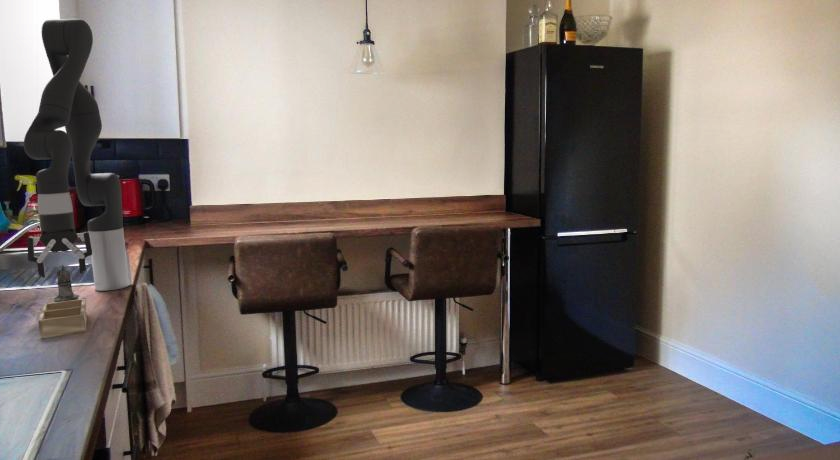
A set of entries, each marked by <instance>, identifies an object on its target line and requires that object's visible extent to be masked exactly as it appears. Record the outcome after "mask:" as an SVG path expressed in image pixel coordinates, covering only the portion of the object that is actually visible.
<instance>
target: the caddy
mask: <svg viewBox="0 0 840 460" xmlns="http://www.w3.org/2000/svg"><path fill="white" fill-rule="evenodd" d="M87 311H88V310H87V303H86V298H80V299H79V298H78V300H70V301H62V302H55V301H53V302H47V303H44V304H43V306H42V308H41V312H40V315H39V318H38V329H39V337H40V339H48V338H52V337H60V336H68V335H72V334H73V335H74V333H75V334H81V333H86V331H87V318H88V312H87Z"/></svg>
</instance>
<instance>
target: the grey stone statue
mask: <svg viewBox="0 0 840 460" xmlns="http://www.w3.org/2000/svg"><path fill="white" fill-rule="evenodd" d="M70 273H71V272H70V270H69V269H68V268H65V266H64V265H63V264H62V265H61V266H60V269H58V270H57V271H56V277H57V278H56V279H57V283H56V286H57V289H58V295H57V296H56V297H54V298H52V299H53V302H62V301H70V300H78V299H79V297H80V295H79V294H75V293H74V291H73V289H72V288H73V287H72V283H73V281H71V274H70Z"/></svg>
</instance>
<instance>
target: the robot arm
mask: <svg viewBox="0 0 840 460" xmlns="http://www.w3.org/2000/svg"><path fill="white" fill-rule="evenodd" d="M41 39H42V45H43V47H44V50H45V54H46V57H47V60H48V63H49V65H50V66H49V67H50V69H51V73H52V77H51V78H50V79H49V81H48V82H47V83H46V84H45V87H44V88H43V90H42V93H41V96H40V97H41V98H40V102H39V106H38V113H37V115H36V116H35V118H34V119H33V120H32V123H31V124H30V126H29V128H28V129H27V132H26V133H25V136H24V137H23V138H24V139H23V150H24V152H25V153H26V155H27V156H28V157H29V158H30V159H32V160H35V161H36V160H37V161H38V160H39V161H41V160H51V162H50V166H49V167H47V168H44V169H40V170H39V171H37V172H36V174H35V181H36V189H37V190H36V191H37V208H38V209H37V210H38V211H37V212H38V217H39V226H40V236H32V235H31V236H28V238H26V241H27V242H26V245H27V260H28V261H29V262H31V263H32V262H33V263H35V264H36V265H37V274H38V275H39V277H41V278H42V279H44V278H46V276H47V275H46V268H45V267H46V265H45V261H44V260H45V258H47V257H46V256H48V254H49V253H50V252H51V253H53V254H54V253H59V252H68V251H70V250H71V252H73V254H75V255H76V256H77V257H78V267H79V274H80V275H81V274H82V275H83V274H84V272H86V270H87V265H86V258H87V257H91V266H92V275H93V283H94V290H96V291H99V292H104V291H106V292H107V291H115V290H121V289H125V288H127V287H128V288H129V286H130V285H132V284H133V283H132V274H131V264H130V254H129V252H127V250H126V243H125V242H126V241H125V234H124V233H125V232H124V223H123V222H124V221H123V220H124V218H123V217H124V215H123V213H124V212H123V202H122V201H123V199H122V185H121V181H120V178H119V177H118V175H117V174H116V173H113V172H103V173H101V172H100V173H92V171H91V162H90V161H91V157H92V153H93V150H94V148H95V146H96V144H97V142H98V140H99V138H100V136H101V132H102V128H103V125H102V118H101V114H100V109H99V105H98V102H97V100H96V99H95V97H94V96H93V95H92V93H91V92H90V91H89V90H88V89H87V88H86V86H84V84H82V82H81V77H82V75H83V72H84V70H85V68H86V65H87V63H88V60H89V57H90V54H91V52H92V48H93V43H94V37H93V31H92V29H91V26H90V24H88V22H87V21H86V20H84V19H80V18H62V19H61V18H58V19H57V18H54V19H51V18H50V19H46V20H45V21H43V23H42V25H41ZM60 128H65V131H64V130H60ZM71 159H72V160H71ZM71 161H72V165H73V167H72V168H73V173H74V181H75V188H76V193H77V198H78V200H79V201H80V203H81V205H83V206H85V207H102V206H105V211H104V212H103V213H102V214H101V215H99V216H96V217H94V218H91V219H89V220H88V221H87V231H84V232H80V233H78V232H76V228H75V226H76V225H75V221H74V220H75V217H74V206H73V201H72V197H71V192H70V184H69V183H70V182H69V170H70V165H71ZM78 238H79V239H80V240H81V242H84V245H85V251H84V252H83V251H82V250H81V249H80V248H79V247H78V245H76V244H75V243H76V241H77V240H78ZM38 242H40V243H41V244H42V245H43V246H44V247H45V248H44V249H43V250H42V251H41V253H40V255H38V256H37V255H36V256H35V247H36V246H37V245H38Z"/></svg>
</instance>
